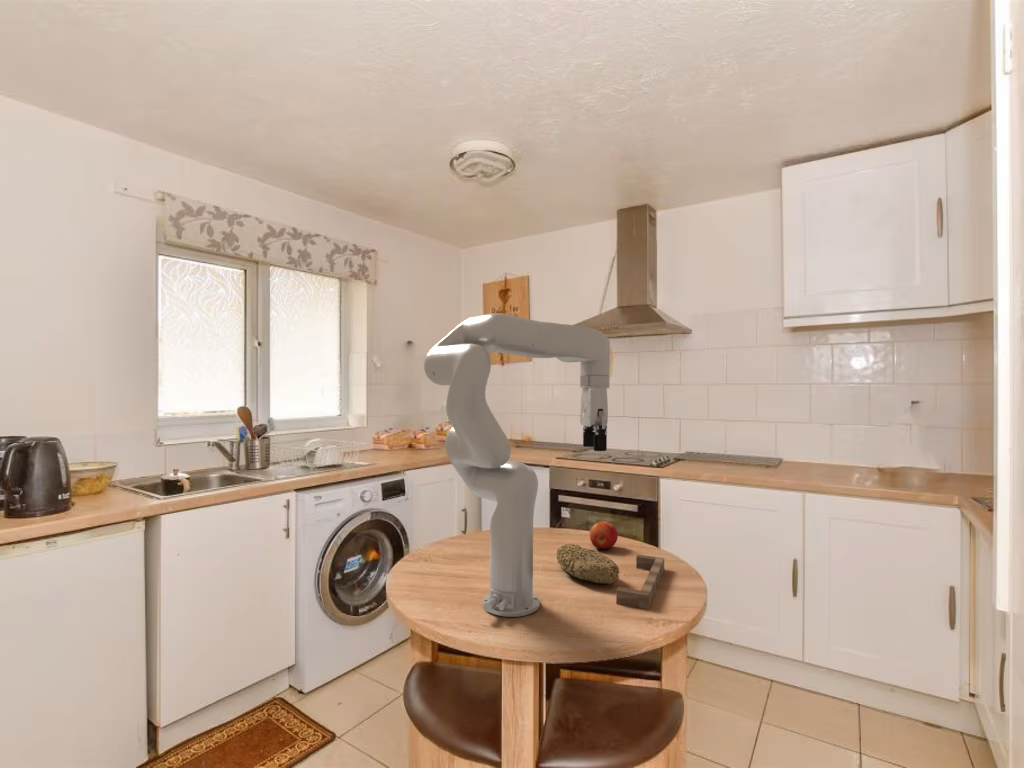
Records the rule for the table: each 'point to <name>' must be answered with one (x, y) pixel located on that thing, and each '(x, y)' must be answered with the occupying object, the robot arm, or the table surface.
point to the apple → (603, 535)
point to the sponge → (587, 564)
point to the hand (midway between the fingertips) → (594, 448)
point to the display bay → (648, 590)
